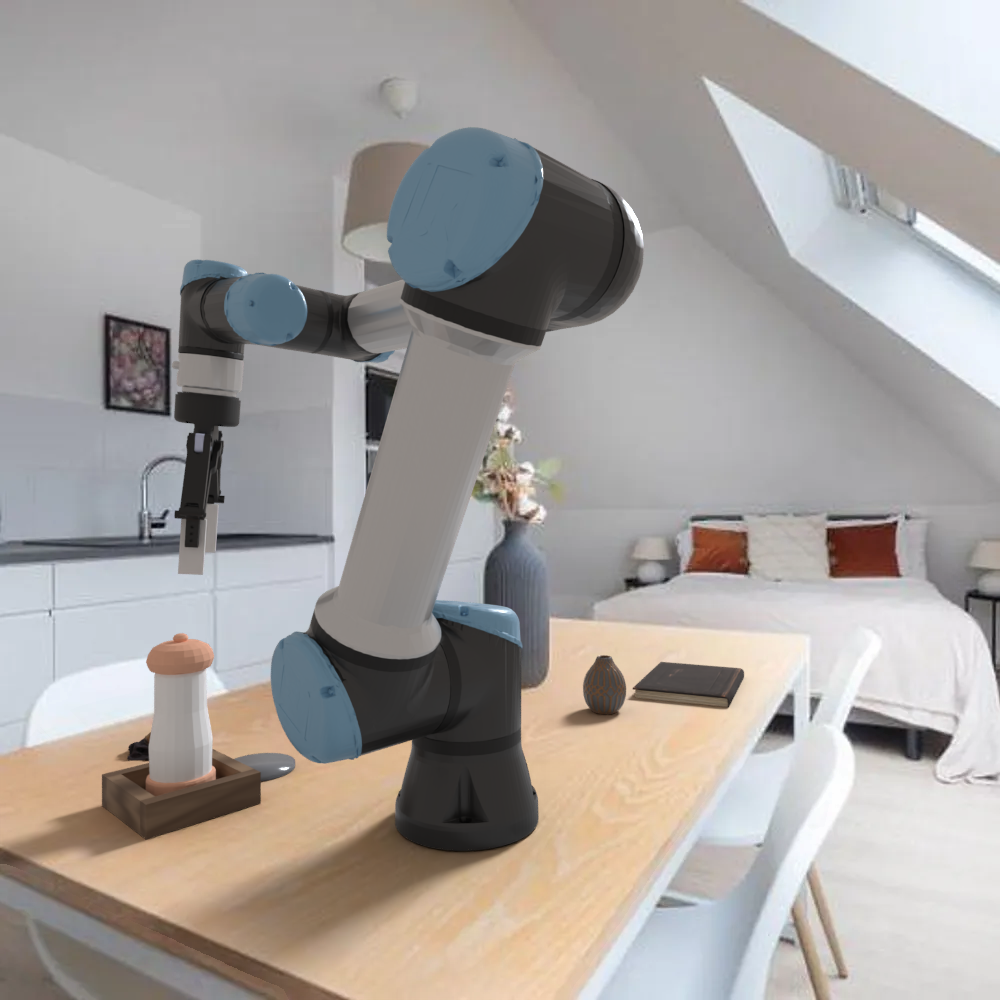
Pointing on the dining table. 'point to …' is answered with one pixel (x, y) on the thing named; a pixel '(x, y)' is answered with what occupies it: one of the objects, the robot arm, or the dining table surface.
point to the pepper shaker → (180, 716)
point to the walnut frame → (179, 797)
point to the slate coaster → (269, 764)
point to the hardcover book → (690, 684)
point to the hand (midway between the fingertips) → (198, 562)
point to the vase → (604, 686)
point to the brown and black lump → (139, 750)
